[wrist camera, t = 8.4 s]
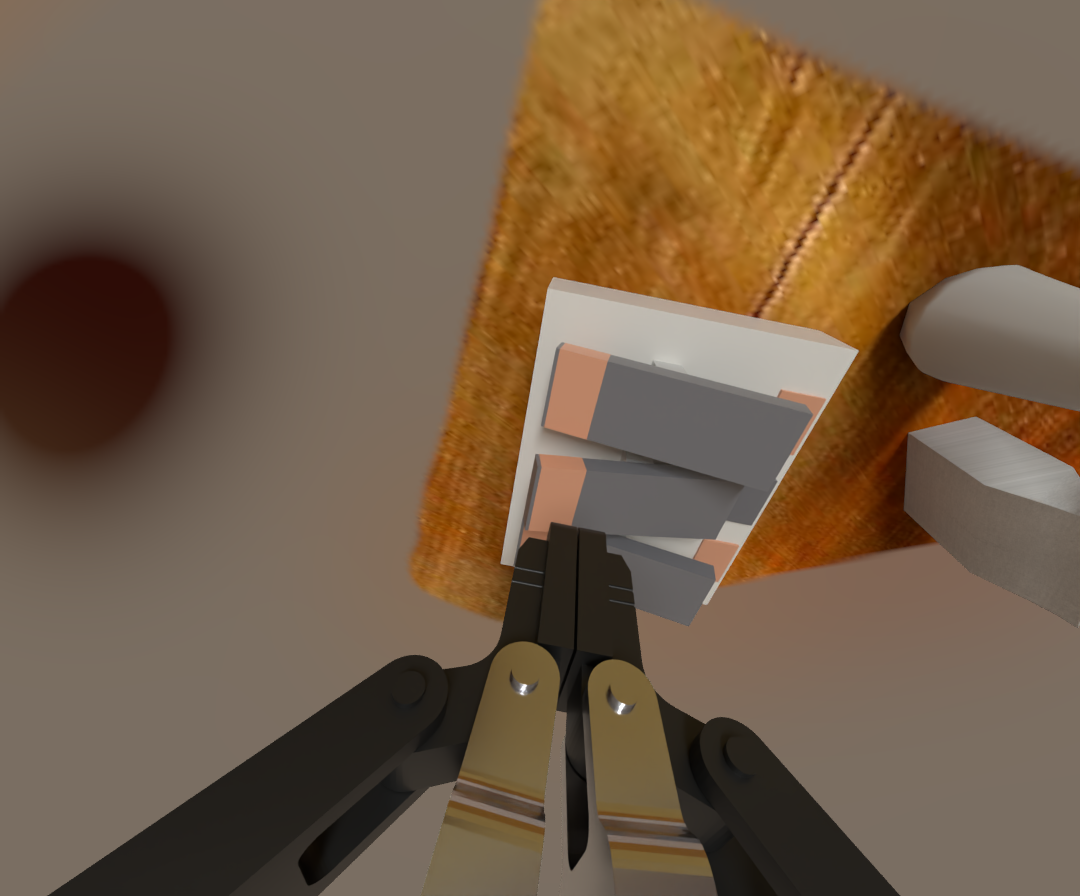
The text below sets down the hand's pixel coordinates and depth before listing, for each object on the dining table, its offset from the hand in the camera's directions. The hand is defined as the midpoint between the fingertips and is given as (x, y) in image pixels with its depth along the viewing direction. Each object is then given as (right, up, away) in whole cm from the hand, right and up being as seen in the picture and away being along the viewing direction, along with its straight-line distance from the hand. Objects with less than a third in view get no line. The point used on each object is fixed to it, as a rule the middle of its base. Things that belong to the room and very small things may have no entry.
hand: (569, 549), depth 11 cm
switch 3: (+4, -5, +15) cm, 16 cm away
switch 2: (+4, 0, +12) cm, 13 cm away
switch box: (+6, +3, +18) cm, 19 cm away
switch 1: (+5, +4, +9) cm, 12 cm away
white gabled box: (+26, +2, +16) cm, 31 cm away
